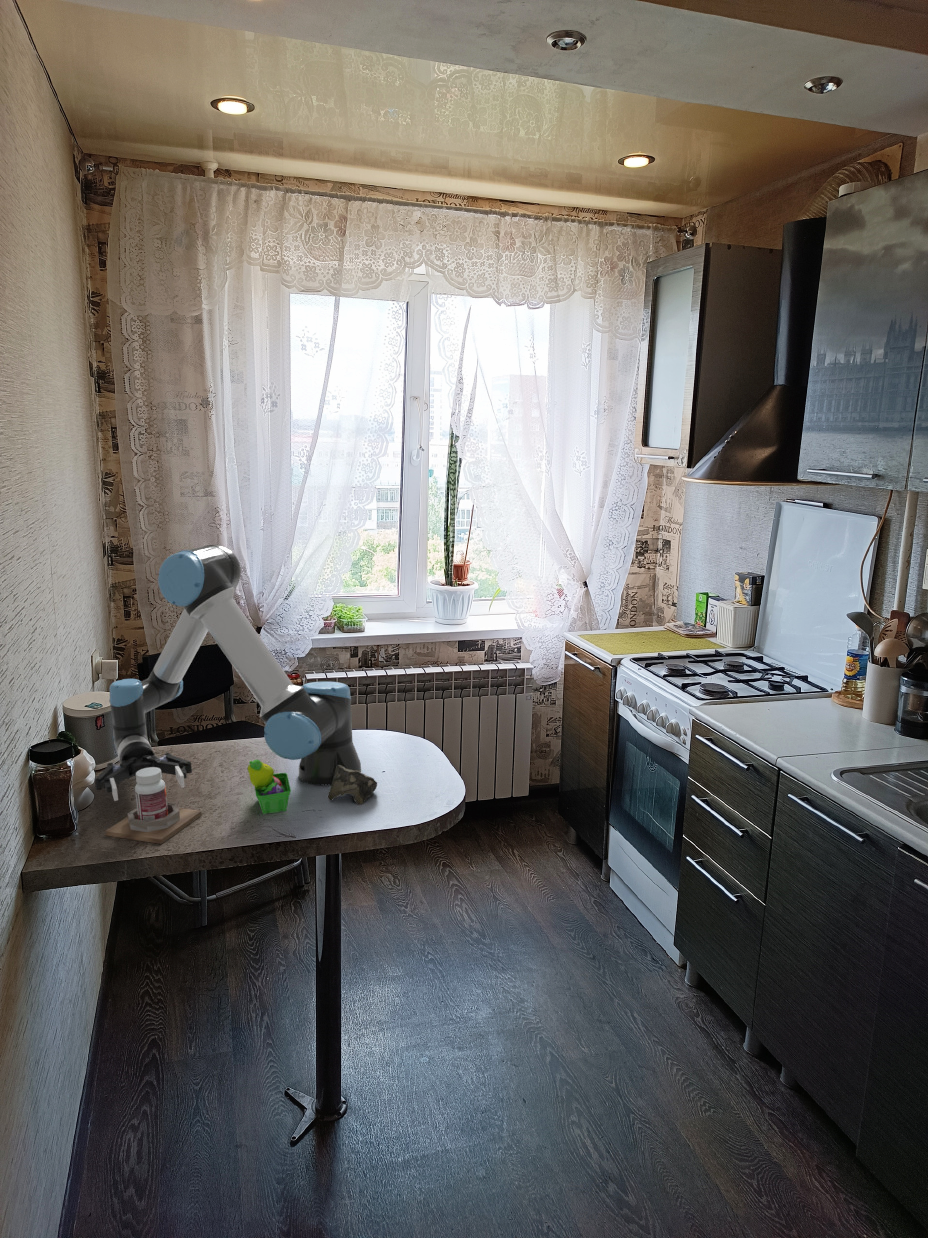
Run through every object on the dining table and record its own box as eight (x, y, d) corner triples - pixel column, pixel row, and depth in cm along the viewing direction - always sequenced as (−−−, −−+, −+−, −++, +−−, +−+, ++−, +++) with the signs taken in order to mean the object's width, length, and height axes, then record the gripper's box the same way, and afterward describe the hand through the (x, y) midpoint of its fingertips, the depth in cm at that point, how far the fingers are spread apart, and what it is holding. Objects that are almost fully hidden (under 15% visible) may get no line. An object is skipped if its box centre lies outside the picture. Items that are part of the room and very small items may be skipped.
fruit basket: (292, 812, 190) (289, 764, 187) (251, 818, 187) (248, 770, 185) (288, 792, 201) (285, 747, 198) (249, 797, 198) (245, 751, 196)
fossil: (383, 785, 202) (377, 757, 196) (374, 817, 195) (368, 789, 189) (339, 781, 204) (332, 754, 198) (328, 813, 197) (321, 785, 191)
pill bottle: (174, 819, 185) (169, 770, 183) (149, 830, 180) (144, 779, 178) (157, 812, 189) (152, 763, 186) (132, 822, 184) (127, 773, 182)
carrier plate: (201, 815, 189) (200, 802, 189) (161, 844, 176) (160, 830, 176) (148, 808, 193) (147, 795, 193) (105, 835, 180) (103, 822, 180)
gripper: (192, 761, 208) (210, 792, 189) (80, 781, 197) (88, 817, 178) (189, 731, 206) (207, 760, 188) (76, 750, 195) (84, 783, 177)
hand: (149, 788), depth 183 cm, fingers open, 13 cm apart
